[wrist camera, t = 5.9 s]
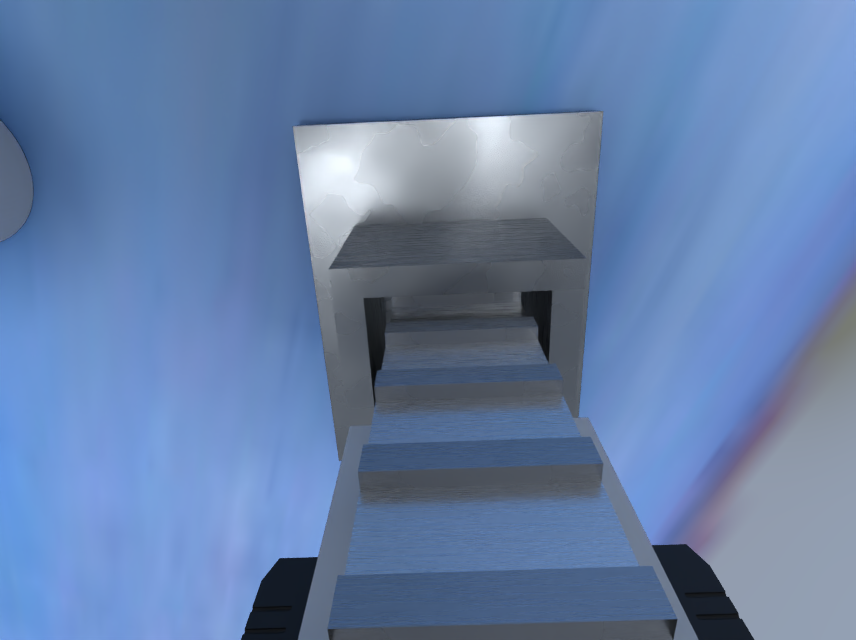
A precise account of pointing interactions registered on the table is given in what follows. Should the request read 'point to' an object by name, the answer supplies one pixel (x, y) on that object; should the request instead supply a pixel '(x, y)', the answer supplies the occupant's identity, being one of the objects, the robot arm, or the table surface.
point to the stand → (447, 231)
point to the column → (484, 494)
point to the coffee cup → (13, 185)
